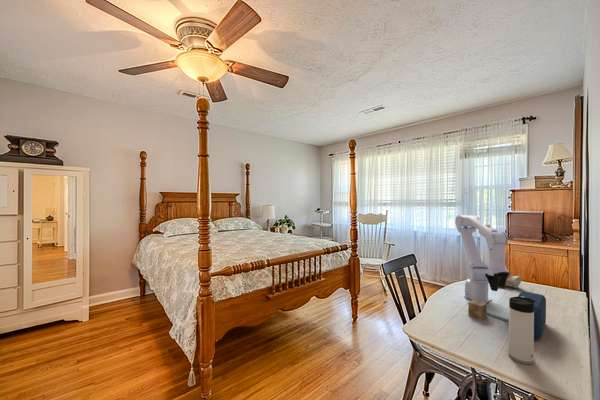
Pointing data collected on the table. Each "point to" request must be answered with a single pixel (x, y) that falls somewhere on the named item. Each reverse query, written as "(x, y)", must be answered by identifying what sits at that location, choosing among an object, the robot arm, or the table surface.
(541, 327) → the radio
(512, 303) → the travel mug
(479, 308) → the walnut block
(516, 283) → the ceramic sculpture
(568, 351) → the table surface
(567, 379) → the table surface
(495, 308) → the board
